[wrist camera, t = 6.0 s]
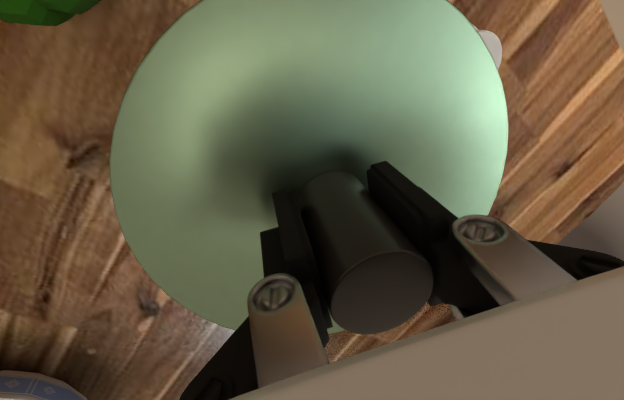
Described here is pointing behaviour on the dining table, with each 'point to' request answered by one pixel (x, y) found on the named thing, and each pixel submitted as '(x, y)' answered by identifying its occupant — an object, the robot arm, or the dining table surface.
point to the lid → (303, 146)
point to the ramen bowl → (34, 387)
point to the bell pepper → (42, 11)
